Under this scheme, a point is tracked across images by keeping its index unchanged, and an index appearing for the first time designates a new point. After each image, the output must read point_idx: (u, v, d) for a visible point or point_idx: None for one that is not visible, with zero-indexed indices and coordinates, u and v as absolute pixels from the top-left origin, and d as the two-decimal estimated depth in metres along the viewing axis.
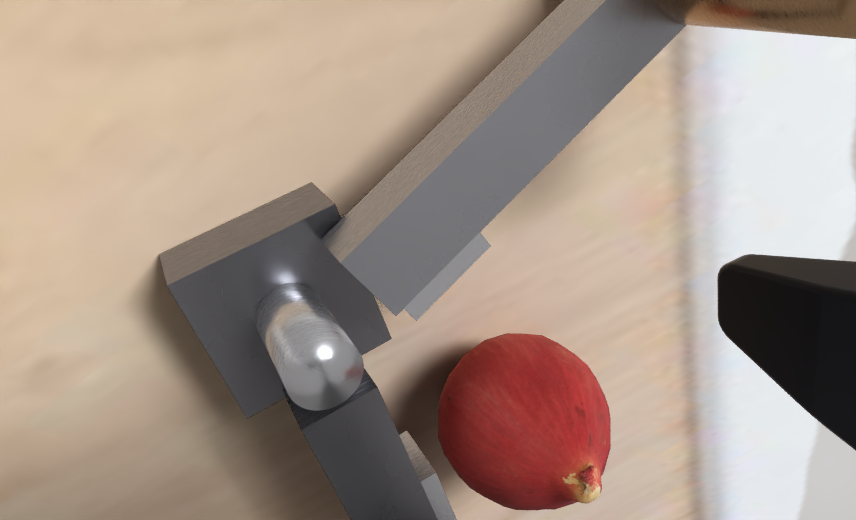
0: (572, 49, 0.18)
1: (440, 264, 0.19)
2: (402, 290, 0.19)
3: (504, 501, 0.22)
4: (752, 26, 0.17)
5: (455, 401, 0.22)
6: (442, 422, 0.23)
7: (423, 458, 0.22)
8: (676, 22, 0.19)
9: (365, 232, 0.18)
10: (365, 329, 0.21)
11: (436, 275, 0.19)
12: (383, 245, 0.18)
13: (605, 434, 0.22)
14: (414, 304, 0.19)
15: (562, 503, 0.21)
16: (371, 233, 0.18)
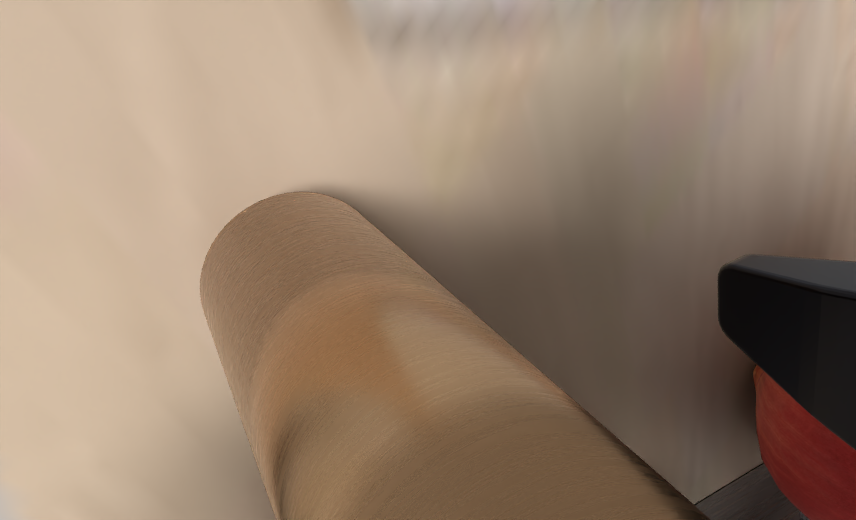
0: None
1: None
2: None
3: None
4: None
5: None
6: None
7: None
8: None
9: None
10: None
11: None
12: None
13: None
14: None
15: None
16: None
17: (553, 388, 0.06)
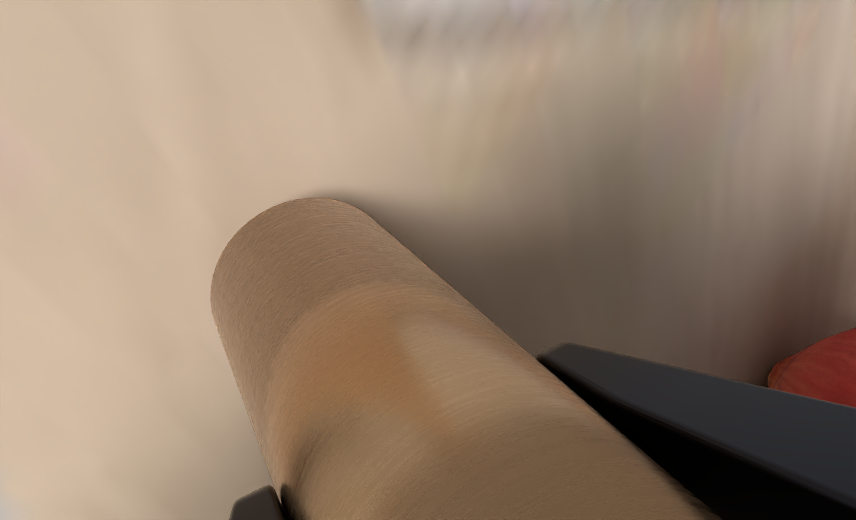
0: None
1: None
2: None
3: None
4: None
5: None
6: None
7: None
8: None
9: None
10: None
11: None
12: None
13: None
14: None
15: None
16: None
17: (586, 408, 0.06)
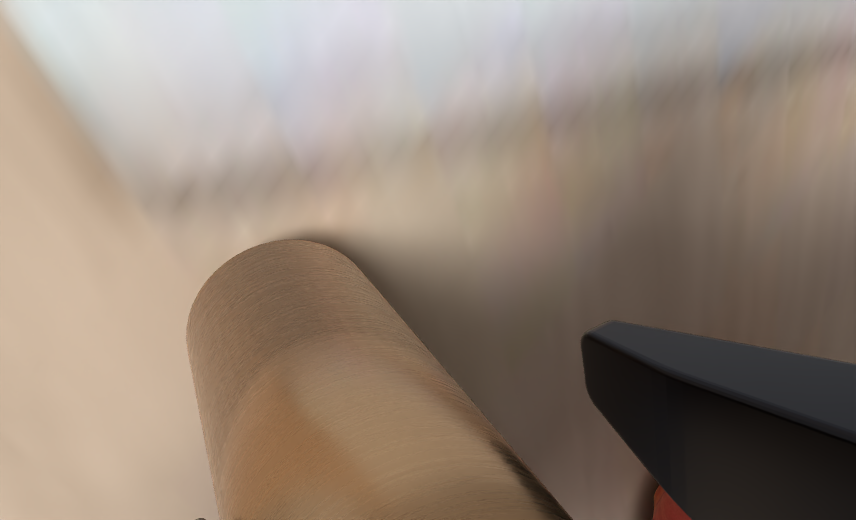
0: None
1: None
2: None
3: None
4: None
5: None
6: None
7: None
8: None
9: None
10: None
11: None
12: None
13: None
14: None
15: None
16: None
17: (553, 498, 0.06)
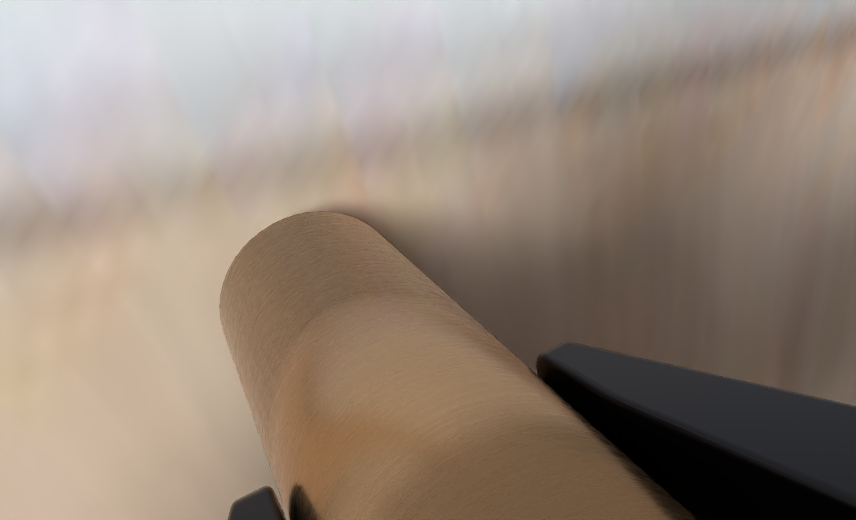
0: None
1: None
2: None
3: None
4: None
5: None
6: None
7: None
8: None
9: None
10: None
11: None
12: None
13: None
14: None
15: None
16: None
17: None
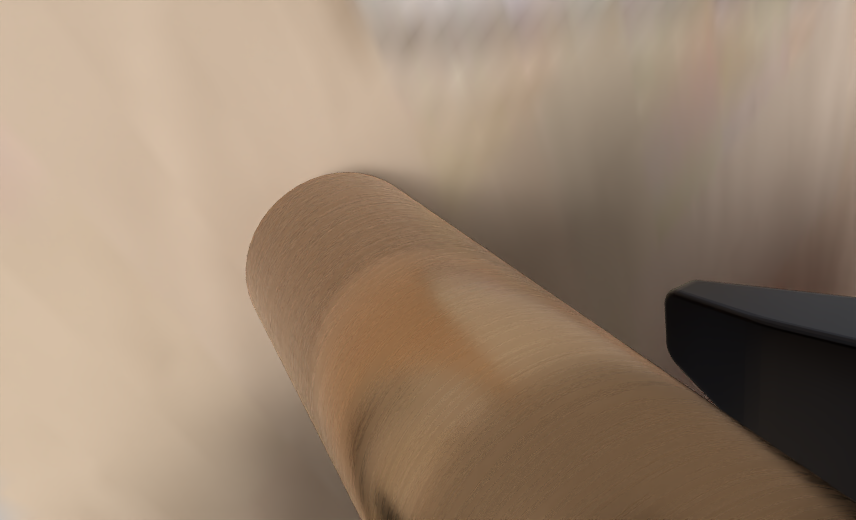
0: None
1: None
2: None
3: None
4: None
5: None
6: None
7: None
8: None
9: None
10: None
11: None
12: None
13: None
14: None
15: None
16: None
17: (649, 361, 0.06)
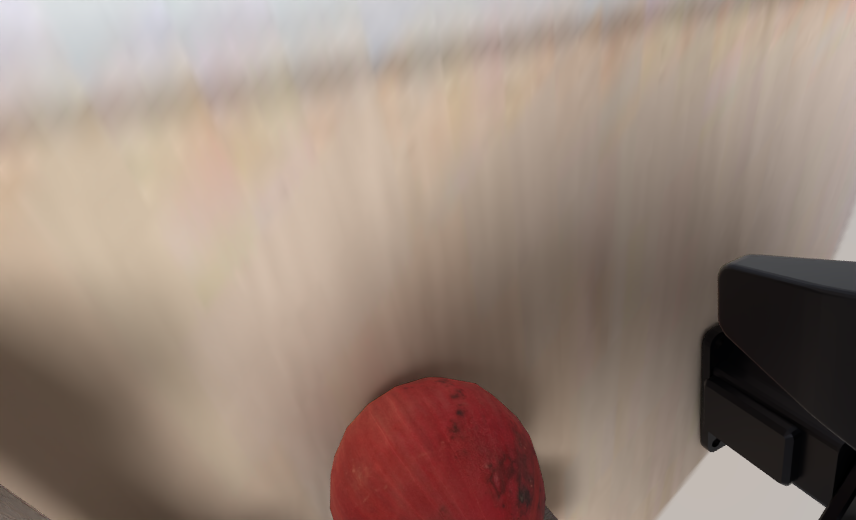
0: None
1: None
2: None
3: None
4: None
5: None
6: None
7: None
8: None
9: None
10: None
11: None
12: None
13: (465, 518, 0.16)
14: None
15: None
16: None
17: None
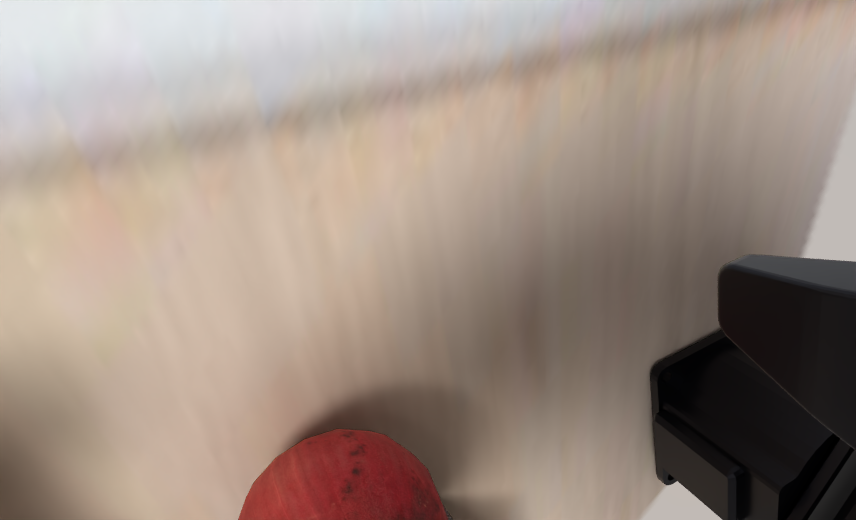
0: None
1: None
2: None
3: None
4: None
5: None
6: None
7: None
8: None
9: None
10: None
11: None
12: None
13: None
14: None
15: None
16: None
17: None
